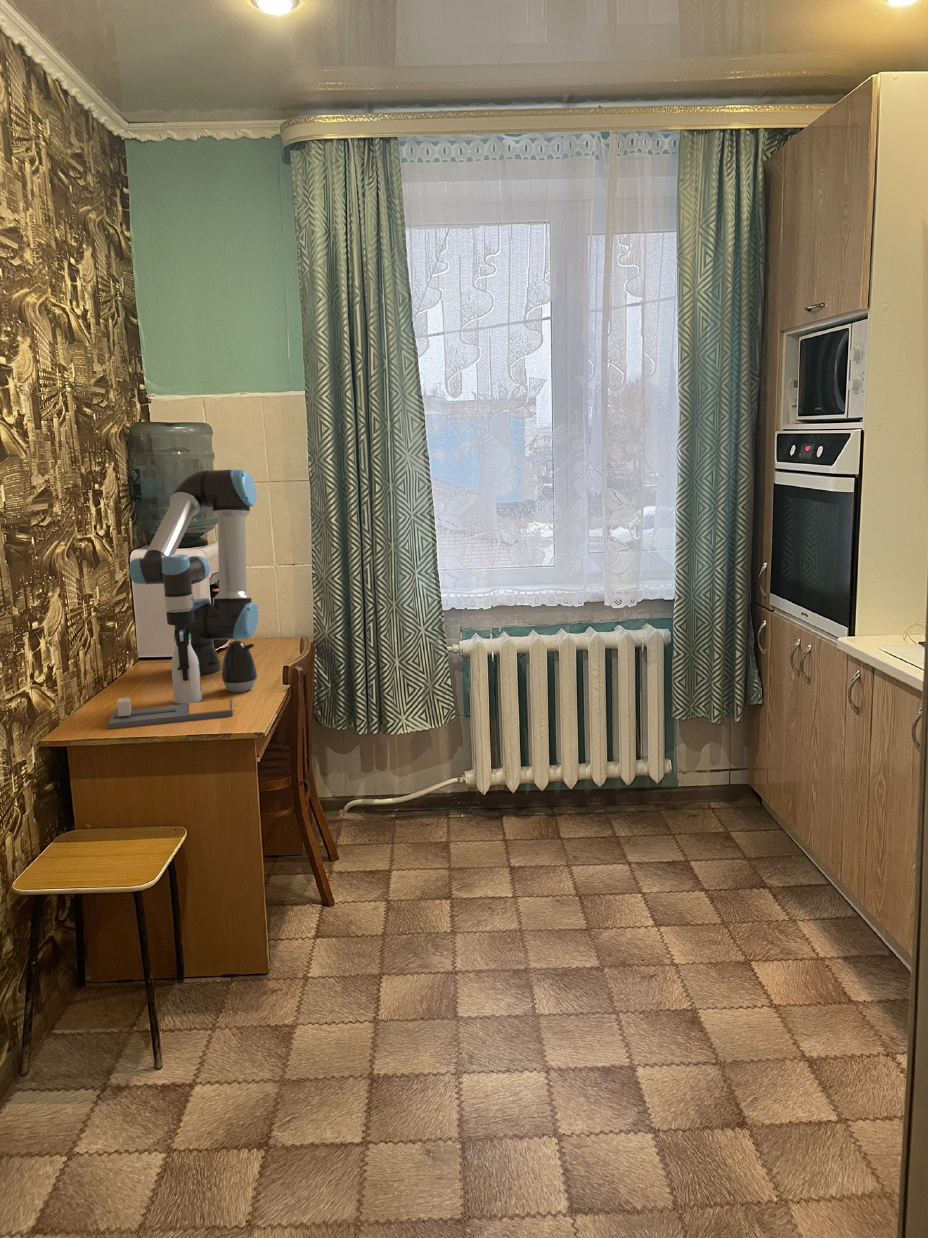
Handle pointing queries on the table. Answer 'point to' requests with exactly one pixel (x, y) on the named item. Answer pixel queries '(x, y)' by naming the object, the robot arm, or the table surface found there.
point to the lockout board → (172, 713)
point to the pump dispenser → (239, 667)
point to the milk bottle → (196, 691)
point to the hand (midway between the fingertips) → (187, 687)
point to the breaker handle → (124, 706)
